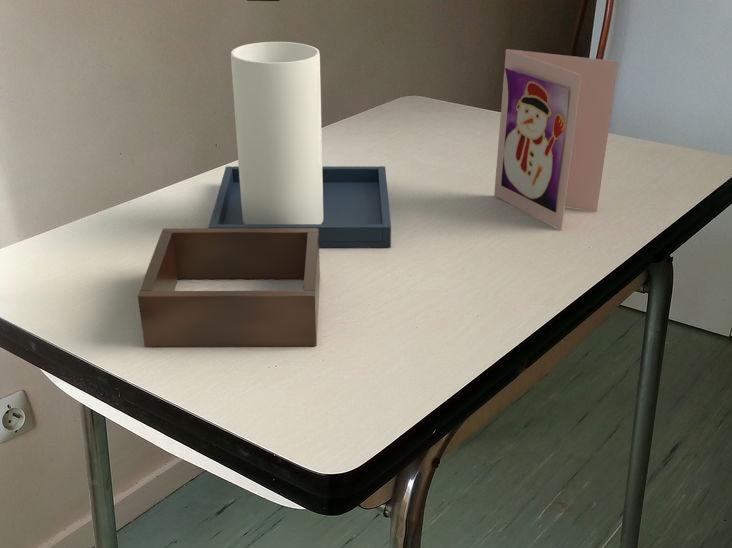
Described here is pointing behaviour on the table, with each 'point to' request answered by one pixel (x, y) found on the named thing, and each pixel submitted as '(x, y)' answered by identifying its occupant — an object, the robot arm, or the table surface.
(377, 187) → the tray
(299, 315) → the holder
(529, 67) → the greeting card
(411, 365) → the table surface
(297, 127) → the cup
